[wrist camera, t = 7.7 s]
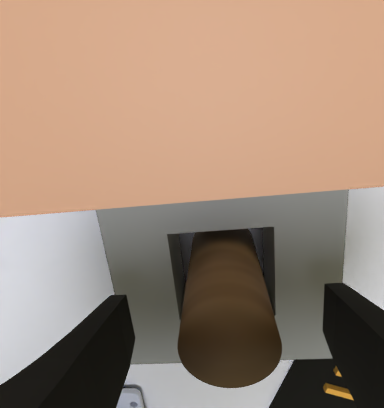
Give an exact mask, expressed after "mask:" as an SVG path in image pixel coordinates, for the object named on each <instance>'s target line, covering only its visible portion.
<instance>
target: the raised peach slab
mask: <svg viewBox="0 0 384 408" xmlns="http://www.w3.org/2000/svg"><path fill="white" fill-rule="evenodd" d="M383 186H384V0H0V217H12V216H24V215H37V214H49V213H61V212H74V211H86V210H99V209H111V208H123V207H136V206H148V205H160V204H173V203H185V202H198V201H210V200H222V199H235V198H247V197H259V196H272V195H284V194H297V193H309V192H321V191H334V190H346V189H358V188H371V187H383Z"/></svg>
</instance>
